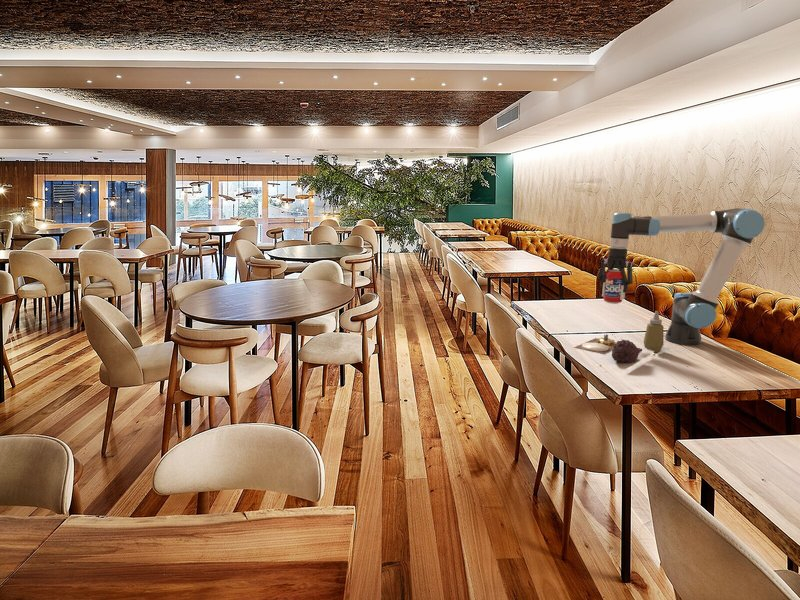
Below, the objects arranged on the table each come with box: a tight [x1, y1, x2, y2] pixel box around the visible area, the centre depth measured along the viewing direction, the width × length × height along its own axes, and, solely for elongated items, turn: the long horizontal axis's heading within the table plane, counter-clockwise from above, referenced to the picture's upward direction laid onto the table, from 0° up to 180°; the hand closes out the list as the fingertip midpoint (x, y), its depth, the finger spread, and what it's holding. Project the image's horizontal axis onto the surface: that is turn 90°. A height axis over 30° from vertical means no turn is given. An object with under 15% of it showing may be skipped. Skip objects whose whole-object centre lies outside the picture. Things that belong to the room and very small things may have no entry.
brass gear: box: [596, 333, 615, 346], centre depth 243 cm, size 8×8×4 cm
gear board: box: [573, 337, 617, 356], centre depth 239 cm, size 14×22×2 cm, turn 136°
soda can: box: [603, 268, 624, 305], centre depth 242 cm, size 8×8×15 cm
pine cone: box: [611, 339, 643, 364], centre depth 218 cm, size 18×10×10 cm, turn 126°
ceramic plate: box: [581, 342, 609, 352], centre depth 236 cm, size 11×11×1 cm
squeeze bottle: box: [643, 310, 665, 354], centre depth 235 cm, size 8×8×18 cm
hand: (612, 297), depth 243 cm, fingers closed on soda can, 8 cm apart
